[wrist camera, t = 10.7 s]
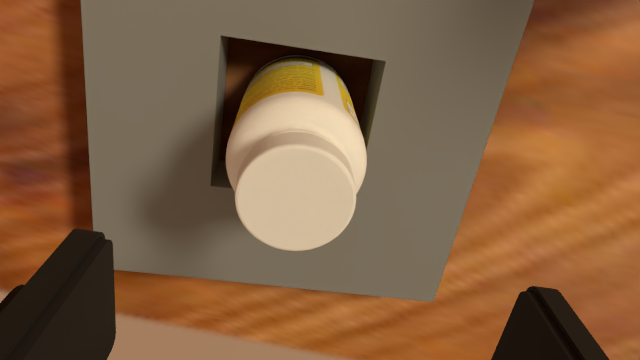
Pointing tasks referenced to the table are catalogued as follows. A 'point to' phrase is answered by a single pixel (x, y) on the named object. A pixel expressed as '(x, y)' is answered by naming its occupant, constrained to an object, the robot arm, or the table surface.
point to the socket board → (376, 126)
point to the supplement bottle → (296, 154)
